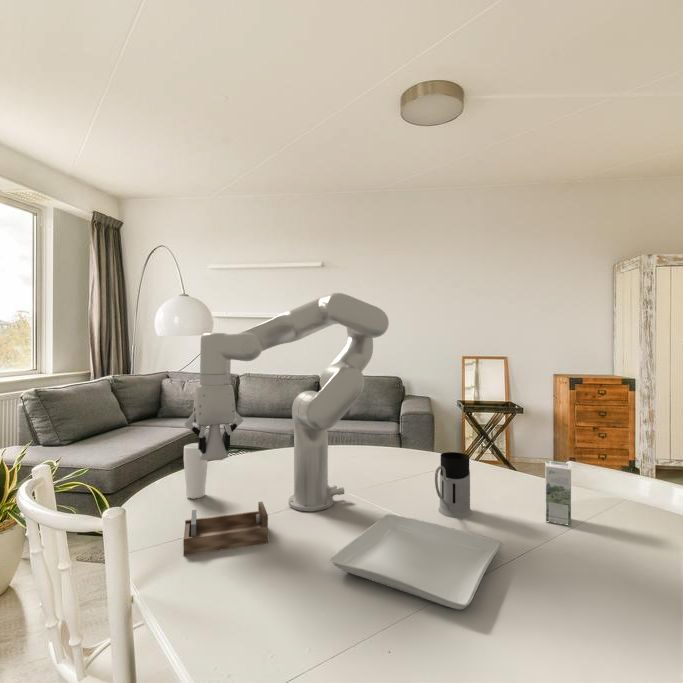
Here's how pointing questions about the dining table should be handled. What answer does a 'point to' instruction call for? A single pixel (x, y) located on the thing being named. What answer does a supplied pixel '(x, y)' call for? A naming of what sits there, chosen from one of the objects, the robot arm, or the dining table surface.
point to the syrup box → (558, 492)
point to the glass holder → (454, 485)
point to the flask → (214, 445)
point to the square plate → (420, 559)
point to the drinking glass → (194, 471)
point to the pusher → (193, 523)
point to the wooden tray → (227, 532)
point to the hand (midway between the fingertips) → (214, 450)
